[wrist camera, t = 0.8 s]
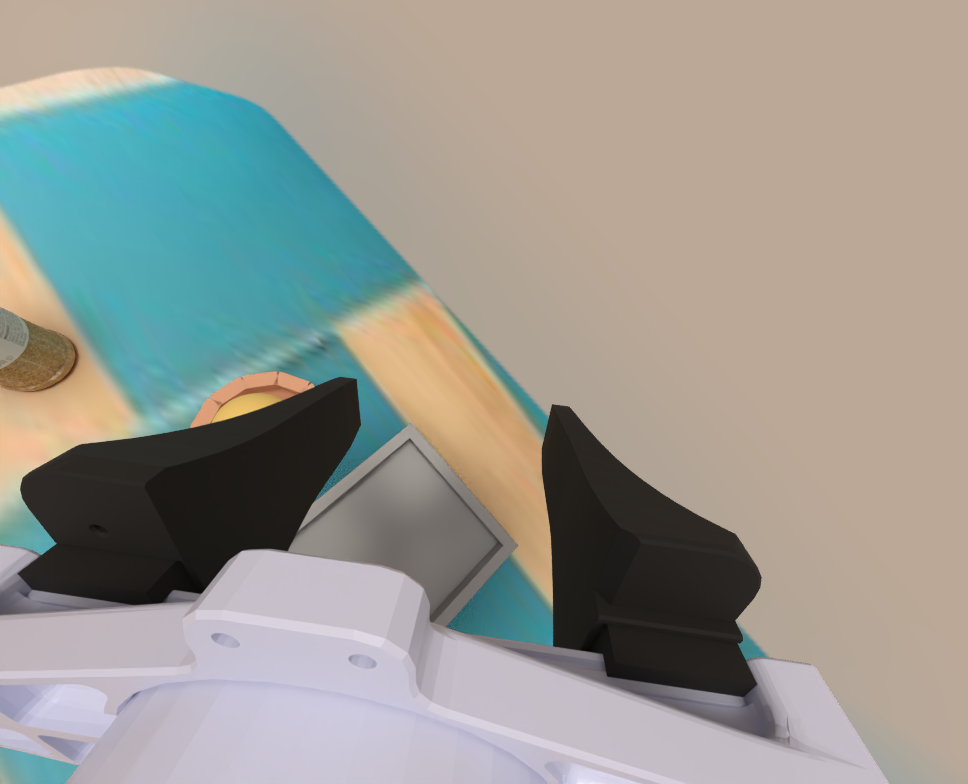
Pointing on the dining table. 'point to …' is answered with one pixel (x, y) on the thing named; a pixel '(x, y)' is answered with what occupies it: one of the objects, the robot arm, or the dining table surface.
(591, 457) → the robot arm
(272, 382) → the copper shallow bowl
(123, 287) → the dining table surface
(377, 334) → the dining table surface
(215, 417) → the ball
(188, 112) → the dining table surface
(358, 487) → the tray
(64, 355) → the sprinkles bottle
